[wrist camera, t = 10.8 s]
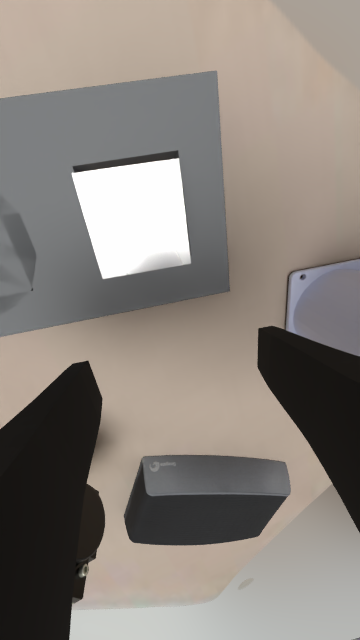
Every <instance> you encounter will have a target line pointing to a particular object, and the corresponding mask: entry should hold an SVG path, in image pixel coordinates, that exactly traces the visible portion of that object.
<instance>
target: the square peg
mask: <svg viewBox="0 0 360 640" xmlns="http://www.w3.org/2000/svg"><path fill="white" fill-rule="evenodd" d="M72 176H73V180H74V183H75V187H76V190H77V193H78V197H79V200H80V203H81V207H82V210H83V214H84V217H85V220H86V224H87V227H88V230H89V234H90V237H91V241H92V244H93V247H94V251H95V254H96V257H97V261H98V264H99V268H100V271H101V274H102V278H103V279H106V278H112V277H117V276H123V275H129V274H134V273H140V272H146V271H152V270H157V269H163V268H169V267H174V266H180V265H186V264H191V258H190V250H189V241H188V233H187V224H186V216H185V207H184V199H183V190H182V182H181V173H180V165H179V158H178V159H171V160H164V161H156V162H149V163H142V164H135V165H128V166H121V167H113V168H106V169H99V170H92V171H85V172H78V173H72Z"/></svg>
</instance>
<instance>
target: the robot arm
mask: <svg viewBox="0 0 360 640" xmlns="http://www.w3.org/2000/svg"><path fill="white" fill-rule="evenodd" d="M302 274H303V277H302V278H301V279H300V276H301V275H302ZM258 369H259V371H260V373H261V375H262V376H263V378H264V380H265V382H266V384H267V385H268V387H269V388H270V390H271V391H272V393H273V394H274V395H275V397H276V398H277V400H278V401H279V402H280V404H281V405H282V406H283V408H284V409H285V411H286V412H287V413H288V415H289V416H290V417H291V419H292V420H293V421H294V423H295V424H296V425H297V427H298V428H299V430H300V431H301V432H302V434H303V435H304V437H305V438H306V440H307V441H308V443H309V444H310V446H311V447H312V449H313V451H314V452H315V454H316V456H317V457H318V459H319V461H320V462H321V464H322V466H323V467H324V469H325V471H326V473H327V474H328V476H329V478H330V480H331V481H332V483H333V485H334V487H335V488H336V490H337V492H338V494H339V495H340V497H341V499H342V501H343V503H344V505H345V506H346V508H347V510H348V512H349V514H350V516H351V518H352V519H353V521H354V523H355V525H356V527H357V529H358V531H359V532H360V259H356V260H350V261H345V262H340V263H335V264H330V265H325V266H320V267H315V268H310V269H305V270H300V271H295V272H293V273H291V275H290V276H289V287H288V303H287V319H286V330H284V329H281V328H278V327H274V326H269V327H263V328H258ZM101 410H102V396H101V394H100V391H99V388H98V385H97V383H96V380H95V377H94V375H93V372H92V369H91V367H90V364H89V361H84V362H79V363H74V364H72V365H71V366H70V367H68V368H67V369H66V370H65V371H64V372H63V373H62V374H61V375H60V376H59V377H58V378H57V379H55V380H54V381H53V382H52V383H51V384H50V385H49V386H48V387H47V388H46V389H45V390H44V391H43V392H42V393H41V394H40V395H39V396H38V397H36V398H35V399H34V400H33V401H32V402H31V403H30V404H29V405H28V406H27V407H25V408H24V409H23V410H22V411H21V412H20V413H19V414H17V415H16V416H15V417H14V418H13V419H12V420H11V421H10V422H8V423H7V424H6V425H5V426H4V427H2V428H1V429H0V640H69V634H70V620H71V609H72V598H73V587H74V577H75V566H76V557H77V548H78V540H79V531H80V523H81V515H82V508H83V500H84V494H85V489H86V483H87V479H88V474H89V470H90V465H91V461H92V457H93V452H94V448H95V444H96V439H97V435H98V430H99V425H100V420H101ZM353 640H360V638H357V639H353Z"/></svg>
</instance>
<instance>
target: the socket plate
mask: <svg viewBox="0 0 360 640" xmlns="http://www.w3.org/2000/svg"><path fill="white" fill-rule="evenodd" d="M178 158H179V165H180V173H181V182H182V190H183V199H184V207H185V216H186V224H187V233H188V241H189V250H190V258H191V264H186V265H180V266H174V267H169V268H163V269H157V270H152V271H146V272H140V273H134V274H129V275H123V276H117V277H112V278H106V279H103V278H102V274H101V271H100V268H99V264H98V261H97V257H96V254H95V251H94V247H93V244H92V241H91V237H90V234H89V230H88V227H87V224H86V220H85V217H84V214H83V210H82V207H81V203H80V200H79V197H78V193H77V190H76V187H75V183H74V180H73V176H72V173H78V172H85V171H92V170H99V169H106V168H113V167H121V166H128V165H135V164H142V163H149V162H156V161H164V160H171V159H178ZM228 291H230V287H229V269H228V252H227V235H226V218H225V200H224V183H223V166H222V148H221V131H220V114H219V97H218V79H217V71H210V72H202V73H194V74H186V75H178V76H171V77H163V78H155V79H147V80H140V81H132V82H124V83H116V84H109V85H101V86H93V87H85V88H77V89H70V90H62V91H54V92H46V93H39V94H31V95H23V96H15V97H8V98H0V337H2V336H7V335H12V334H17V333H22V332H27V331H32V330H37V329H42V328H47V327H53V326H58V325H63V324H68V323H73V322H78V321H83V320H88V319H93V318H98V317H103V316H108V315H113V314H118V313H123V312H128V311H133V310H138V309H143V308H148V307H153V306H158V305H163V304H168V303H173V302H178V301H183V300H188V299H193V298H198V297H203V296H208V295H213V294H218V293H223V292H228Z"/></svg>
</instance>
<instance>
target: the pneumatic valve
mask: <svg viewBox="0 0 360 640" xmlns="http://www.w3.org/2000/svg"><path fill="white" fill-rule="evenodd" d="M104 528H105V513H104V507H103V504H102V501H101V498H100V496H99V491H97V490H95V489H94V488H93V487H91V486H90V485H88V484H86V489H85V494H84V500H83V508H82V515H81V523H80V531H79V540H78V548H77V557H76V566H75V577H74V587H73V598H72V604H74V603H76V602H78V601H79V600H81V599H82V598H83V593H84V587H85V580H86V575H87V574H88V571H89V567H88V562H90V561H92V560H94V559H95V558H96V552H97V548H98V547H99V545H100V542H101V540H102V537H103V533H104Z"/></svg>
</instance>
